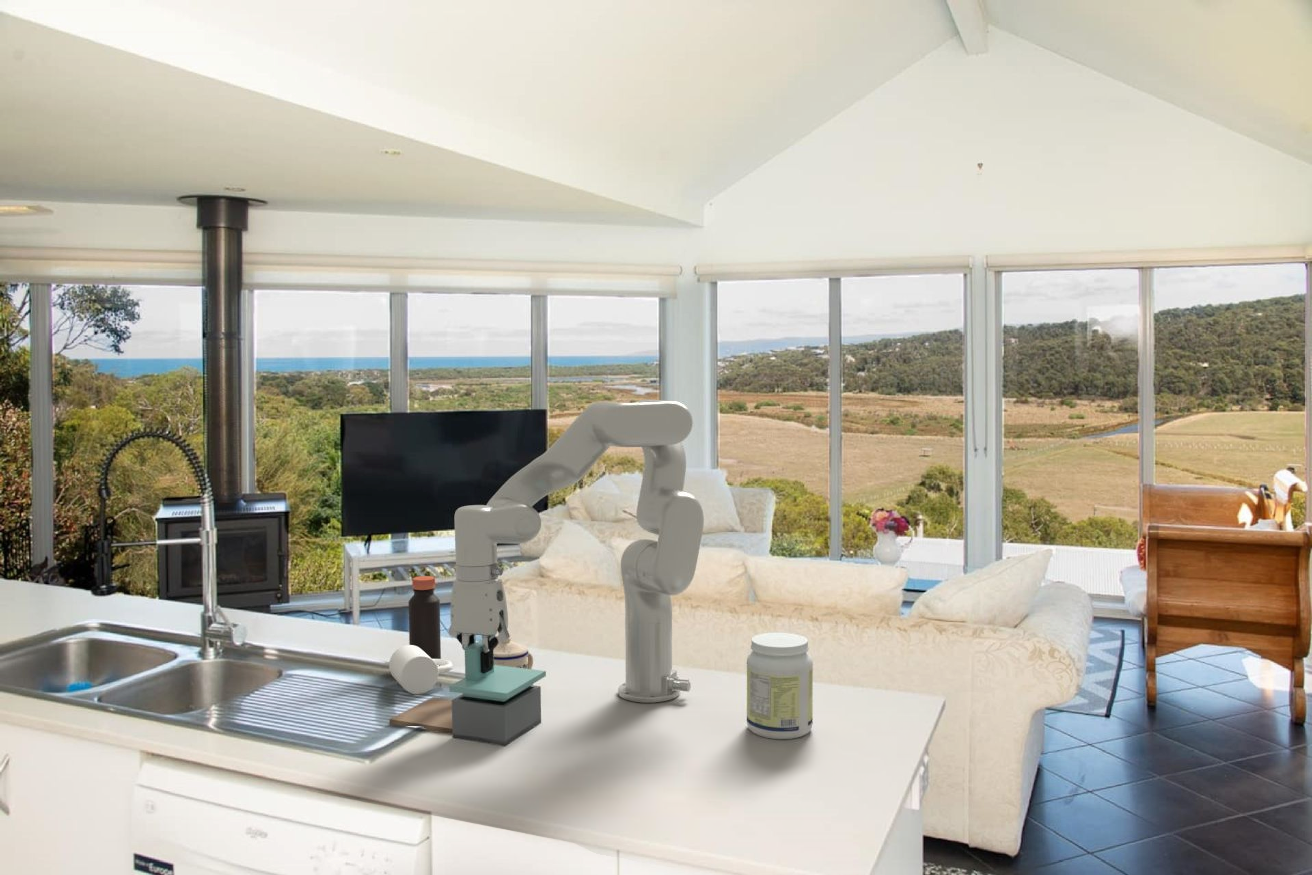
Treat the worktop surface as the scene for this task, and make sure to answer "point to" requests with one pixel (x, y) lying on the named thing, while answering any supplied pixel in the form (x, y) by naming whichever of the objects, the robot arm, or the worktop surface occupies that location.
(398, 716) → the board
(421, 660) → the mug
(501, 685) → the lid
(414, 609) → the bottle
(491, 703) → the tub
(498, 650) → the teacup with lid
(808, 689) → the supplement tub
